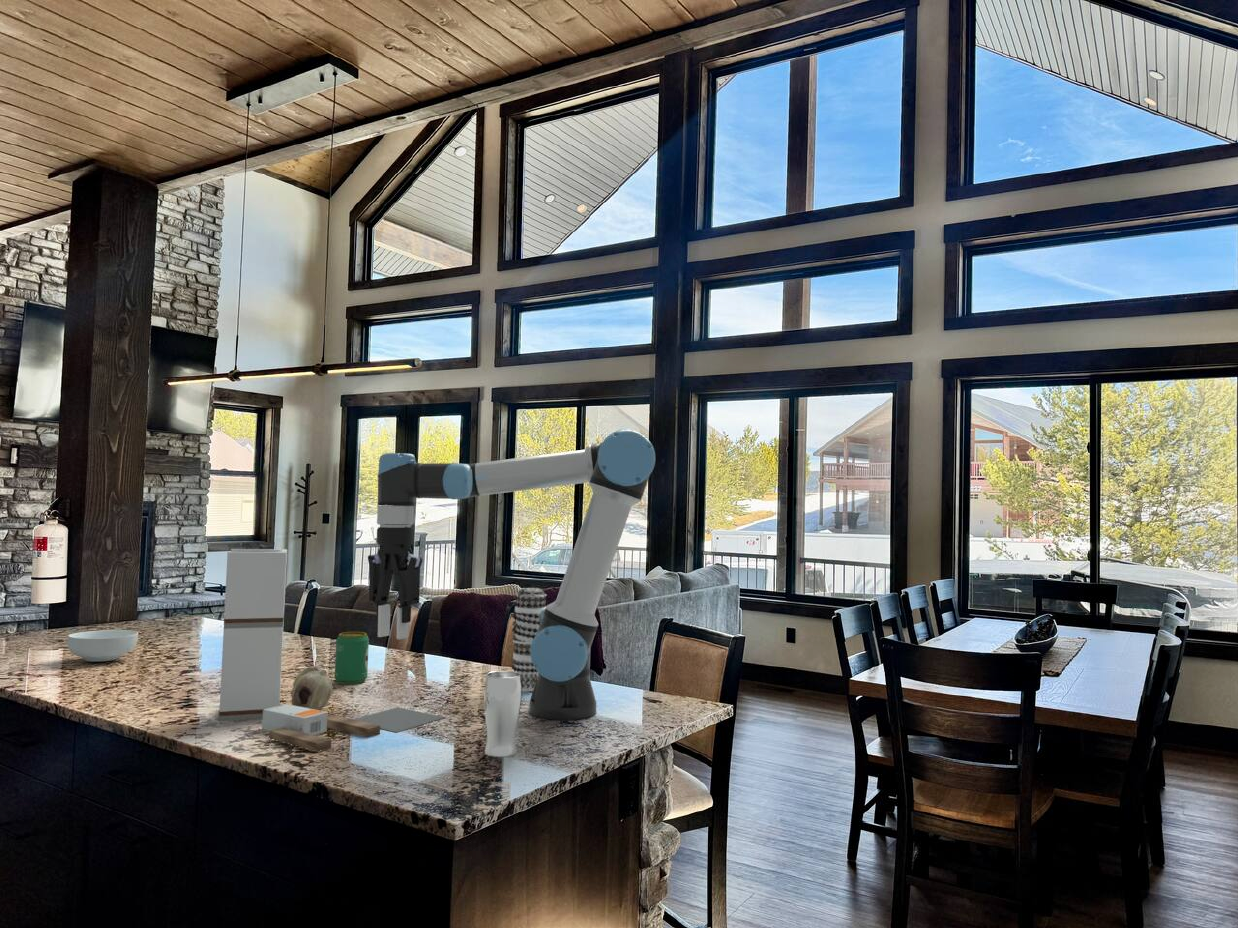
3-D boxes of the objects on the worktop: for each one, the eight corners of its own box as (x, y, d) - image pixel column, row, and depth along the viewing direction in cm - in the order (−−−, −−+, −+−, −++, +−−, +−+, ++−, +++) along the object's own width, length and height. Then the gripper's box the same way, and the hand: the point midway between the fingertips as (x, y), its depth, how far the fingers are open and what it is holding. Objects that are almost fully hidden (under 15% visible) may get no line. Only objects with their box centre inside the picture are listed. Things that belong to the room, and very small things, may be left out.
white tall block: (279, 705, 184) (287, 549, 186) (278, 717, 174) (286, 552, 176) (223, 709, 180) (231, 548, 182) (218, 721, 170) (227, 552, 172)
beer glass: (520, 749, 157) (523, 670, 158) (517, 761, 150) (520, 678, 151) (484, 748, 157) (487, 669, 158) (479, 760, 150) (482, 677, 151)
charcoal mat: (444, 719, 177) (444, 717, 177) (396, 734, 165) (396, 731, 165) (397, 709, 184) (397, 707, 184) (348, 723, 172) (348, 720, 172)
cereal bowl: (149, 658, 231) (150, 633, 231) (85, 667, 217) (86, 640, 217) (117, 651, 240) (118, 626, 240) (54, 659, 226) (55, 633, 226)
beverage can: (368, 683, 208) (370, 635, 209) (335, 685, 205) (337, 637, 206) (365, 676, 215) (367, 630, 216) (333, 678, 212) (335, 631, 213)
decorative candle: (503, 689, 205) (507, 589, 206) (517, 682, 214) (520, 586, 215) (538, 693, 203) (542, 591, 204) (550, 685, 212) (553, 587, 213)
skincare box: (304, 717, 159) (261, 709, 165) (303, 739, 159) (260, 730, 165) (328, 710, 165) (286, 703, 170) (327, 732, 165) (285, 724, 170)
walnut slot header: (379, 735, 163) (380, 725, 164) (317, 754, 151) (318, 743, 151) (332, 724, 171) (332, 714, 171) (268, 741, 158) (269, 730, 158)
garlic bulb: (290, 708, 182) (292, 662, 183) (330, 706, 185) (332, 661, 186) (289, 719, 173) (291, 671, 174) (331, 716, 176) (333, 669, 177)
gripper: (439, 526, 173) (437, 638, 172) (378, 524, 181) (375, 631, 180) (414, 527, 166) (411, 643, 165) (351, 525, 175) (349, 635, 174)
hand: (393, 636), depth 173 cm, fingers open, 5 cm apart
